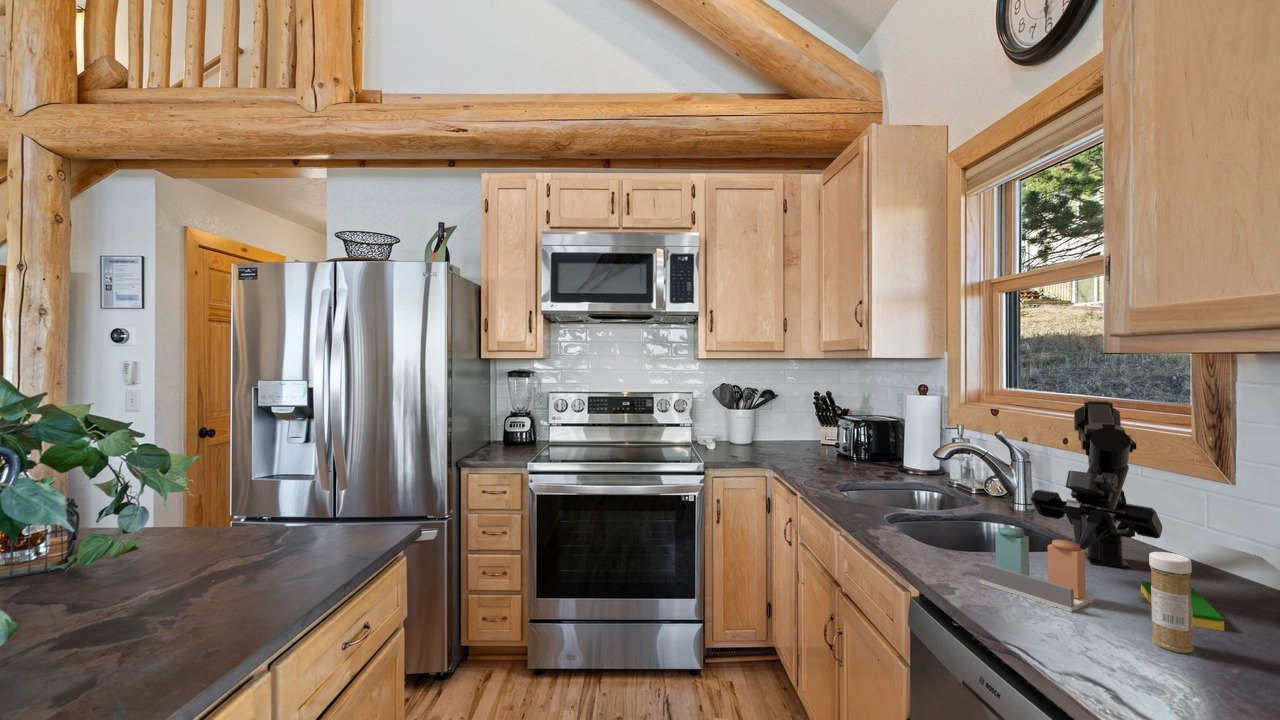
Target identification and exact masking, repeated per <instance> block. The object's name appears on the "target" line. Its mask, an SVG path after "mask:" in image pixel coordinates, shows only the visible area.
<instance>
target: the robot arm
mask: <svg viewBox="0 0 1280 720" xmlns="http://www.w3.org/2000/svg"><path fill="white" fill-rule="evenodd" d="M1073 414H1074V415H1073V427H1074V431H1075V432H1077V437H1078V440H1079V441H1080V447H1081V451H1085V455H1086V456H1087V461H1088V468H1087V471H1085V472H1084V471H1076V470H1068V471H1067V478H1066V481H1065V482H1066V483H1065V484H1066V485H1065V488H1067V489H1069V490H1071V492H1070V496H1071V498H1072V499H1069V498H1068V499H1067V498H1066V500H1062V498H1061V496H1060V494H1059V493H1058V492H1055V491H1048V490H1044V489H1036V490H1034V491H1033V492H1032V494H1031V496H1030V500H1031V502H1032V504H1033V506H1034V508H1035V509H1036V511H1037V513H1038V514H1039V516H1042V517H1043V518H1050V519H1053V520H1054V519H1055V520H1060V519H1062V518H1064V517H1065V516H1066V517H1067V520H1068V521H1069V523H1070V525H1072V526H1073V534H1074V535H1073V537H1074V542H1076V543H1078V544H1080V549H1084V550H1085V551H1086V550H1087V552H1085V560H1087V562H1089V563H1090V564H1091V565H1101V566H1109V567H1116V568H1117V567H1118V568H1119V567H1120V568H1127V569H1129V568H1131V565H1130V564H1129V563H1128V562H1127V561H1125V560H1124V555H1123V554H1124V552H1123V549H1124V548H1123V547H1124V546H1123V537H1124V538H1128V539H1133V538H1134V537H1136V535H1138V536H1143V537H1148V538H1152V539H1160V538H1161V536H1162V532H1163V524H1162V522H1161V520H1160V517H1159V516H1158V513H1157V511H1156V510H1155V509H1154V508H1153V507H1150V506H1143V505H1137V504H1131V503H1130V504H1129V503H1127V499H1126V495H1125V492H1124V490H1123V488H1124V484H1125V481H1126V477H1127V475H1128V472H1129V470H1130V467H1129V465H1128V464H1129V458H1130V456H1129V455H1130V454H1132V453H1133V452H1134V450H1137V442H1136V441H1134V440H1133V438H1132V437H1131V435H1130V434H1127V432H1126V430H1125V428H1124V427H1123V426H1122V424H1121V423H1122V421H1121V412H1120V411H1119V410H1117V409H1116V408H1114V405H1113V402H1109V401H1105V400H1103V401H1102V400H1101V401H1099V400H1096V401H1095V400H1087V401H1084V402H1083V405H1082V406H1081V407H1079V408H1077V409H1075V410H1074V413H1073Z"/></svg>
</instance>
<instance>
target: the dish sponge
mask: <svg viewBox="0 0 1280 720" xmlns="http://www.w3.org/2000/svg"><path fill="white" fill-rule="evenodd" d="M1151 582H1152V581H1144V580H1141V581H1140V592H1141V594H1142V593H1143V594H1144V595H1143V594H1142V595H1143V596H1144V597H1145V599H1146V598H1147V599H1146V600H1147V601H1148V603H1149V604H1150V603H1151V604H1150V605H1151V606H1152V600H1151V585H1152V583H1151ZM1191 607H1192V620H1193V627H1196V628H1203V629H1209V630H1216V631H1221V632H1222V631H1225V619H1224V617H1223V616H1222V615H1221V614H1220V613H1219V612H1218V611H1217V610H1216V609H1215V608H1214V607H1213V606H1212V605H1211V604H1210V603H1209V602H1208V601H1207V600H1206V599H1205V598H1204V597H1202V596H1201V594H1200V593H1199V592H1198V591H1197V590H1195V589H1194V588H1192V587H1191Z"/></svg>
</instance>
